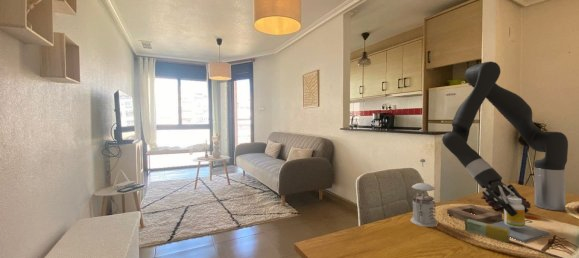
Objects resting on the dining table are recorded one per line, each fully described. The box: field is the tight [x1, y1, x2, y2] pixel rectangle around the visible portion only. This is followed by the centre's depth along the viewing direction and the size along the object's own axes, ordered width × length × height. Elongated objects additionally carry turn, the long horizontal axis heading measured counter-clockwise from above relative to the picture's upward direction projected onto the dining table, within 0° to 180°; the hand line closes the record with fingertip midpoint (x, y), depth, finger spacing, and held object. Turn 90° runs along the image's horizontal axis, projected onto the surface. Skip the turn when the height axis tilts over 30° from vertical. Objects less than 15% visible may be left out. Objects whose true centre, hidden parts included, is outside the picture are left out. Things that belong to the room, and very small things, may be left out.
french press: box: [410, 158, 438, 228], centre depth 96 cm, size 10×12×25 cm
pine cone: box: [480, 193, 531, 211], centre depth 105 cm, size 18×10×10 cm, turn 23°
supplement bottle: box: [503, 196, 526, 228], centre depth 86 cm, size 5×5×10 cm
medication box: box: [464, 219, 511, 244], centre depth 84 cm, size 12×3×4 cm, turn 35°
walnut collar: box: [446, 204, 503, 224], centre depth 99 cm, size 14×12×2 cm
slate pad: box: [489, 220, 551, 243], centre depth 86 cm, size 14×12×1 cm
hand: (520, 213), depth 85 cm, fingers closed on supplement bottle, 5 cm apart
